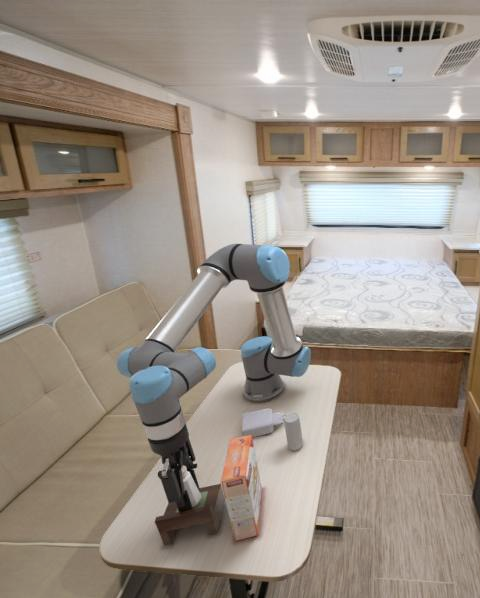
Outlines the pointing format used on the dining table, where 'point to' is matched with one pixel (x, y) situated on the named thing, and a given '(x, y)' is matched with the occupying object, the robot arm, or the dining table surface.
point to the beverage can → (293, 431)
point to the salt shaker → (190, 487)
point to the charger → (260, 422)
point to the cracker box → (242, 487)
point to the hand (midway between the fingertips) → (189, 500)
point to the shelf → (193, 514)
